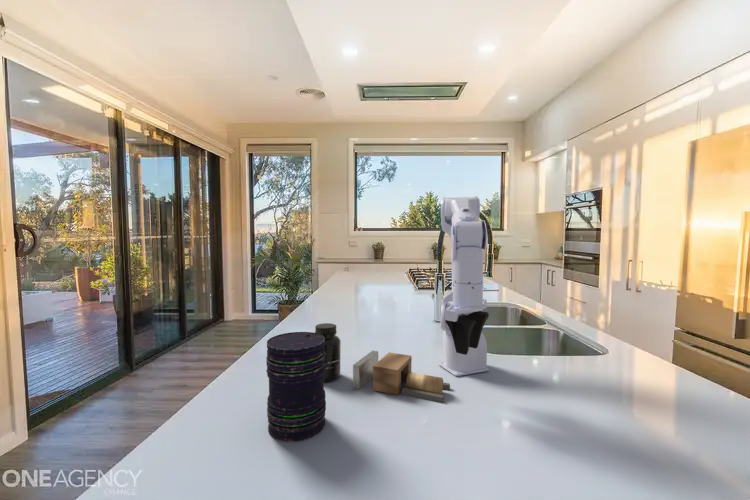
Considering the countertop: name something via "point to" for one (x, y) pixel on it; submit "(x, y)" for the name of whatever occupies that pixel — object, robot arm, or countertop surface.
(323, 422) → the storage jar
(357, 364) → the steel backstop wall
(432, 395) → the guide rails
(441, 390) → the oak dowel
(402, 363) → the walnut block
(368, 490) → the countertop surface
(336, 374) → the supplement bottle
